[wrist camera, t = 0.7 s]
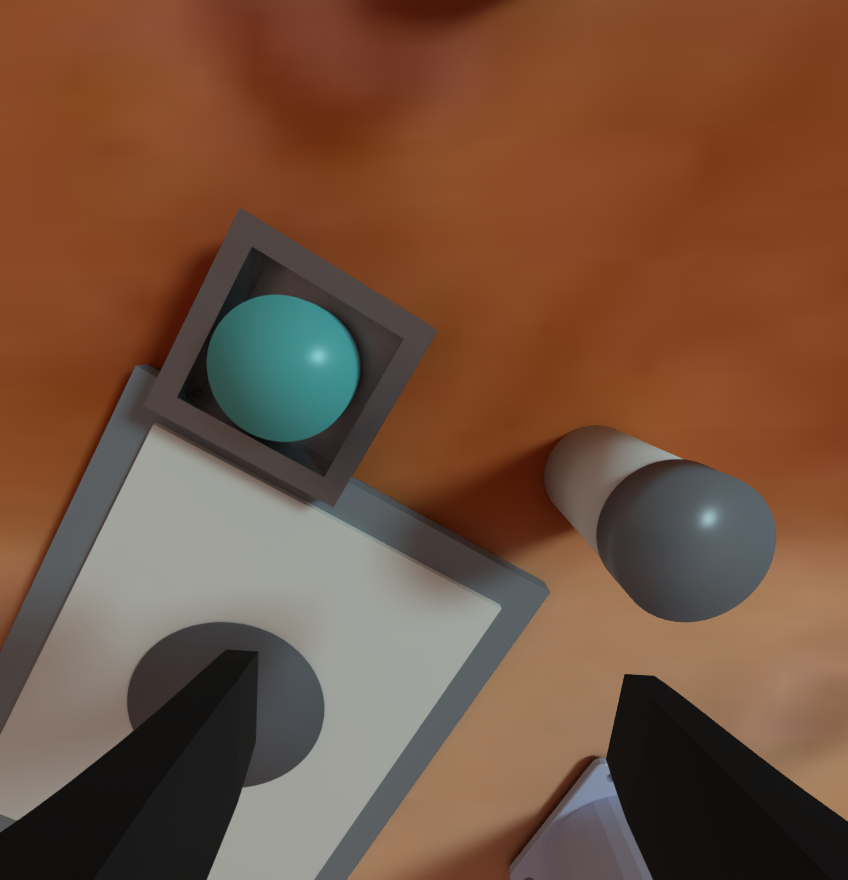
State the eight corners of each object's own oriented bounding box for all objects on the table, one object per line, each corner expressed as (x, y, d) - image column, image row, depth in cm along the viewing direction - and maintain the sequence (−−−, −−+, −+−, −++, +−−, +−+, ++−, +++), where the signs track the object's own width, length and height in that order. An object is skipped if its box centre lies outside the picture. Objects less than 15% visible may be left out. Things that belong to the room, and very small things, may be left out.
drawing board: (544, 582, 20) (553, 597, 19) (302, 926, 24) (297, 957, 22) (147, 364, 17) (129, 366, 16) (-56, 788, 21) (-83, 815, 20)
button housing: (433, 331, 18) (437, 330, 15) (342, 484, 19) (333, 507, 16) (264, 226, 17) (239, 207, 14) (179, 396, 18) (143, 405, 15)
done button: (383, 343, 16) (381, 345, 14) (322, 451, 17) (311, 466, 15) (267, 273, 15) (247, 264, 13) (209, 388, 16) (181, 396, 14)
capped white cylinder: (663, 455, 19) (808, 522, 12) (604, 538, 20) (709, 647, 13) (579, 403, 18) (683, 443, 12) (521, 491, 19) (586, 578, 12)
